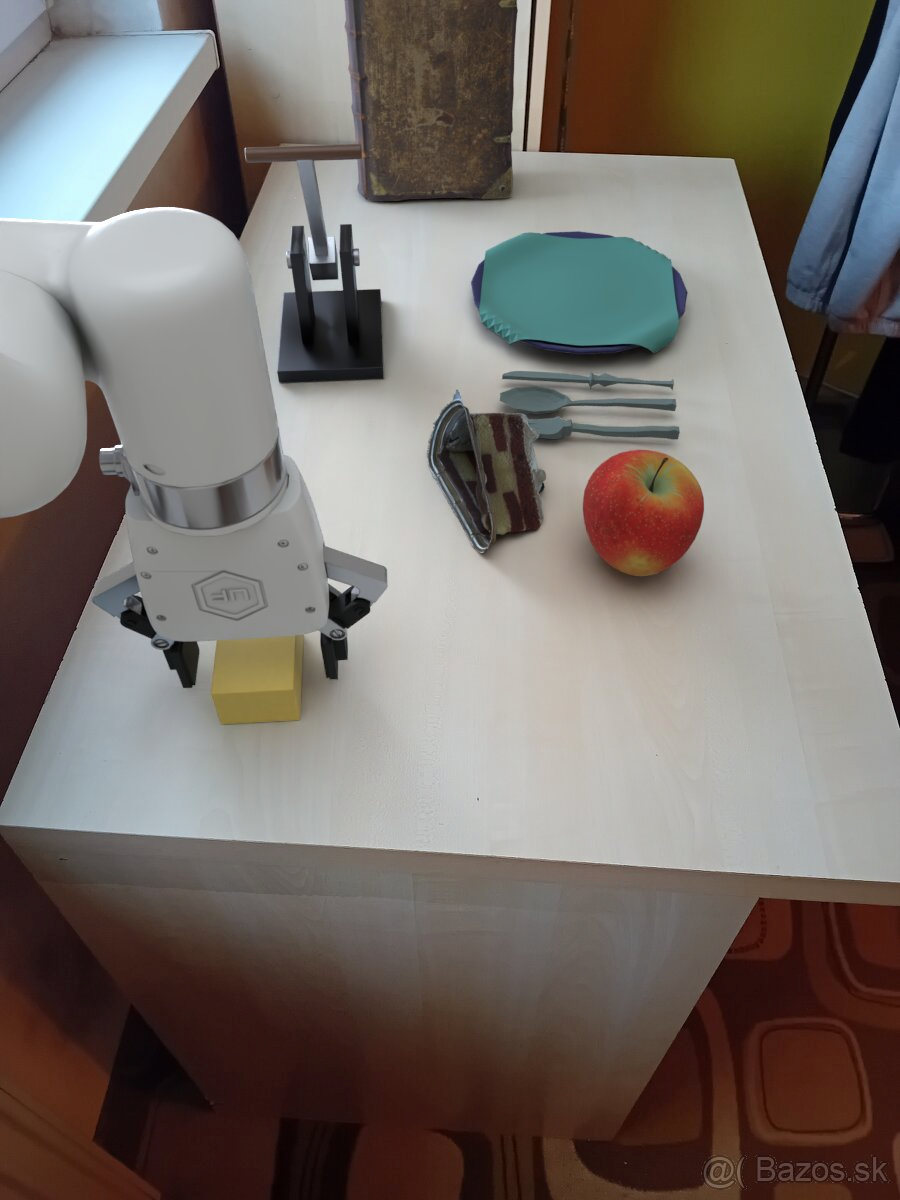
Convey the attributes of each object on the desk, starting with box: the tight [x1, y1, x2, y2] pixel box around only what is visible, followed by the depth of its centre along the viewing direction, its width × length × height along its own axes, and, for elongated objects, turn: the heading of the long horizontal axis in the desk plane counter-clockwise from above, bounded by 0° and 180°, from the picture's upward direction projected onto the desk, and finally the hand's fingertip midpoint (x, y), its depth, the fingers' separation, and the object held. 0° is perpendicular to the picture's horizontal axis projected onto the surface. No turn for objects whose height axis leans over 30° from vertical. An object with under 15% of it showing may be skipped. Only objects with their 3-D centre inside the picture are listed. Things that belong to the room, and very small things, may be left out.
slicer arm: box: [244, 143, 362, 281], centre depth 74 cm, size 16×8×2 cm
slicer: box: [276, 223, 385, 384], centre depth 83 cm, size 12×9×10 cm
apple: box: [582, 449, 705, 577], centre depth 66 cm, size 8×8×10 cm
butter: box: [210, 634, 305, 725], centre depth 62 cm, size 5×7×3 cm
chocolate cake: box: [426, 389, 547, 554], centre depth 73 cm, size 10×7×12 cm
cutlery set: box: [470, 230, 688, 440], centre depth 86 cm, size 20×30×2 cm, turn 175°
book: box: [344, 0, 519, 202], centre depth 95 cm, size 17×7×25 cm, turn 90°
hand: (262, 665), depth 62 cm, fingers open, 8 cm apart
